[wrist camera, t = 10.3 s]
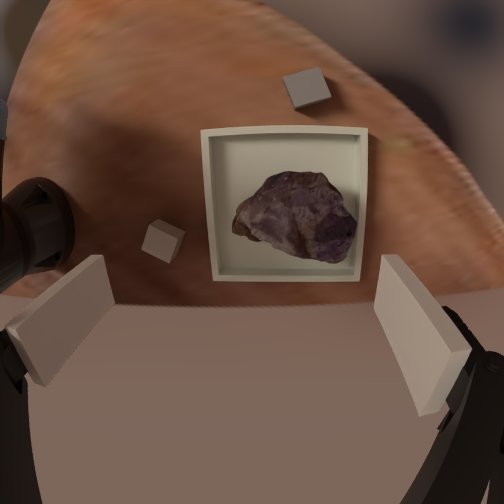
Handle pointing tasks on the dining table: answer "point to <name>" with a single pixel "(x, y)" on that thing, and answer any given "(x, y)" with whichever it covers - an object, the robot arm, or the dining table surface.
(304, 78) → the squat grey cube
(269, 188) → the rock
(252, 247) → the dish
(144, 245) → the matte grey cube
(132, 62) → the dining table surface
